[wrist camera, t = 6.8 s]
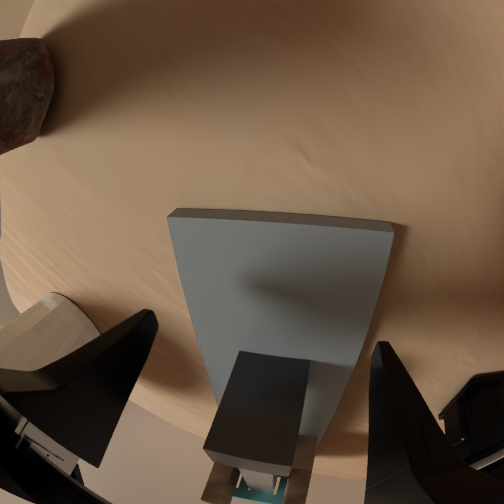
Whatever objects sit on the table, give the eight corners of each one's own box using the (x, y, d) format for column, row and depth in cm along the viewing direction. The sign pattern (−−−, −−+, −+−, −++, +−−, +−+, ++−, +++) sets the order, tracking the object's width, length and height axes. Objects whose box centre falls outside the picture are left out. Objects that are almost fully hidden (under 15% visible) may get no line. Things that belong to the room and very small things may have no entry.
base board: (390, 222, 11) (394, 232, 10) (310, 455, 28) (309, 461, 27) (176, 208, 13) (167, 216, 12) (237, 443, 31) (235, 449, 30)
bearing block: (319, 427, 23) (301, 519, 14) (311, 444, 26) (295, 520, 17) (231, 414, 25) (200, 499, 16) (237, 433, 28) (212, 504, 19)
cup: (109, 373, 28) (67, 441, 19) (36, 309, 26) (-13, 367, 17) (135, 342, 21) (72, 444, 12) (37, 251, 19) (-43, 328, 10)
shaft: (310, 359, 15) (291, 466, 10) (290, 457, 27) (279, 502, 22) (239, 350, 16) (202, 448, 11) (256, 452, 28) (243, 496, 23)
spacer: (305, 470, 23) (296, 506, 19) (302, 475, 24) (294, 508, 20) (232, 458, 25) (220, 492, 21) (234, 464, 26) (224, 495, 22)
